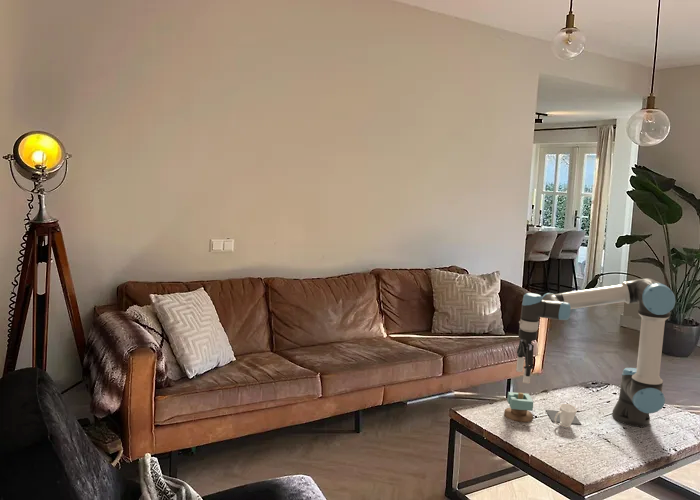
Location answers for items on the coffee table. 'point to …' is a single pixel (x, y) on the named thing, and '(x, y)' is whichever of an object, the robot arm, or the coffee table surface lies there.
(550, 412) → the mat
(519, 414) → the stand
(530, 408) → the link
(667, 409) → the coffee table surface
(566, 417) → the cup
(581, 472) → the coffee table surface
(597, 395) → the coffee table surface
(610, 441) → the coffee table surface
